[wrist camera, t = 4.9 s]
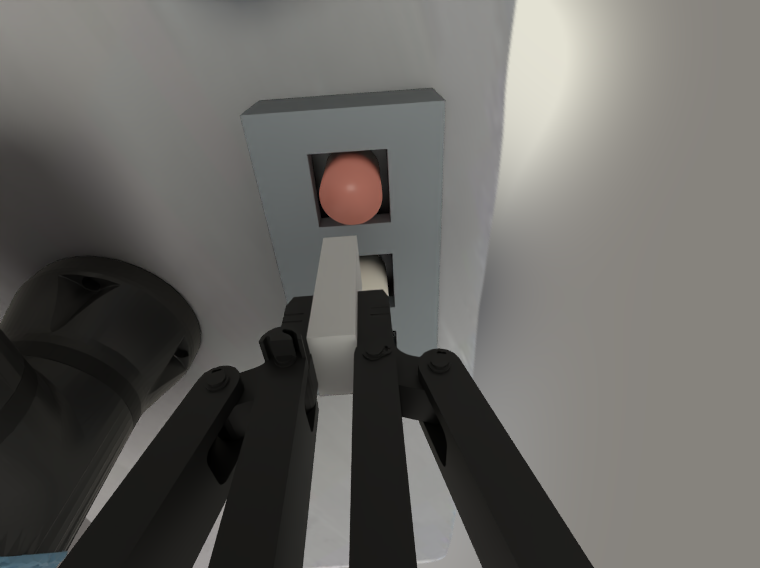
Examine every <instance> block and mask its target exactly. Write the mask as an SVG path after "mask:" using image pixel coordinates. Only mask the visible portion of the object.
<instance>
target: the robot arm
mask: <svg viewBox="0 0 760 568" xmlns="http://www.w3.org/2000/svg"><path fill="white" fill-rule="evenodd" d="M200 340H201V334H200V328H199V324H198V321H197V319H196V316H195V314H194V313H193V311H192V309H191V308H190V306H189V305H188V304H187V302H186V301H185V300H184V299H183V298H182V297H181V296H180V295H179V294H178V293H177V292H176V291H175V290H174V289H173V288H172V287H170V286H169V285H168V284H166V283H165V282H164V281H162V280H161V279H159V278H158V277H156V276H154V275H152V274H151V273H149V272H147V271H145V270H143V269H140V268H138V267H136V266H133V265H130V264H127V263H124V262H121V261H117V260H113V259H108V258H101V257H89V256H86V257H72V258H66V259H62V260H59V261H56V262H54V263H51V264H49V265H48V266H46V267H45V268H43V269H42V270H40V271H39V272H38V273H37V274H35V275H34V276H33V277H32V278H30V279H29V280H28V281H27V282H25V283H24V284H23V285H22V286H21V288H20V289H19V290H18V291H17V293H16V294H15V296H14V298H13V300H12V302H11V304H10V306H9V308H8V310H7V312H6V313H5V315H4V317H3V319H2V321H1V323H0V568H56V567H57V565H58V564H59V562H61V561H63V560H64V561H63V562H62V563H61V565H60V566H59V567H58V568H192V567H193V565H194V563H195V561H196V559H197V557H198V555H199V553H200V551H201V549H202V547H203V545H204V543H205V541H206V539H207V537H208V535H209V533H210V531H211V529H212V527H213V525H214V523H215V521H216V519H217V517H218V515H219V513H220V511H221V509H222V507H223V505H224V503H225V501H226V500H227V501H226V505H225V508H224V512H223V516H222V519H221V523H220V526H219V530H218V534H217V537H216V541H215V545H214V548H213V552H212V556H211V559H210V563H209V566H208V568H303V559H304V549H305V539H306V529H307V520H308V510H309V500H310V490H311V481H312V471H313V461H314V451H315V442H316V432H317V422H318V412H319V408H318V402H317V391H318V390H319V395H320V396H329V395H343V394H353V417H352V462H351V507H350V552H349V568H417V562H416V552H415V542H414V532H413V522H412V513H411V503H410V493H409V483H408V473H407V464H406V454H405V444H404V434H403V424H402V417H405V418H410V419H414V420H419V423H420V425H421V427H422V430H423V432H424V434H425V437H426V439H427V441H428V444H429V446H430V448H431V450H432V453H433V455H434V457H435V460H436V462H437V464H438V467H439V469H440V471H441V473H442V476H443V478H444V480H445V483H446V485H447V487H448V489H449V492H450V494H451V496H452V499H453V501H454V503H455V506H456V508H457V510H458V512H459V515H460V517H461V519H462V521H463V524H464V526H465V529H466V531H467V533H468V535H469V538H470V540H471V542H472V545H473V547H474V549H475V551H476V554H477V556H478V558H479V561H480V563H481V565H482V568H594V567H593V566H592V564H591V563H590V561H589V560H588V558H587V556H586V555H585V553H584V552H583V550H582V549H581V547H580V545H579V544H578V542H577V541H576V539H575V538H574V536H573V535H572V533H571V532H570V530H569V528H568V527H567V525H566V524H565V522H564V521H563V519H562V517H561V516H560V514H559V513H558V511H557V510H556V508H555V507H554V505H553V503H552V502H551V500H550V499H549V497H548V496H547V494H546V493H545V491H544V489H543V488H542V486H541V485H540V483H539V482H538V480H537V479H536V477H535V475H534V474H533V472H532V471H531V469H530V468H529V466H528V464H527V463H526V461H525V460H524V458H523V457H522V455H521V454H520V452H519V451H518V449H517V447H516V446H515V444H514V443H513V441H512V440H511V438H510V436H509V435H508V433H507V432H506V430H505V429H504V427H503V426H502V424H501V422H500V421H499V419H498V418H497V416H496V415H495V413H494V411H493V410H492V408H491V407H490V405H489V404H488V402H487V401H486V399H485V398H484V396H483V394H482V393H481V391H480V390H479V388H478V387H477V385H476V383H475V382H474V380H473V379H472V377H471V376H470V374H469V373H468V371H467V369H466V368H465V366H464V365H463V363H462V362H461V360H460V358H459V357H458V356H457V355H456V354H455V353H453V352H451V351H449V350H445V349H440V348H439V349H431V350H429V351H426V352H424V353H423V354H422V355H421V356H420V357H417V356H412V355H408V354H406V353H404V352H402V351H400V350H399V349H398V348H397V347H396V346H395V344H394V341H393V332H392V323H391V313H390V303H389V296H388V295H387V294H386V293H385V291H384V290H383V289H380V290H367V291H362V280H361V271H360V262H359V252H358V243H357V235H355V236H341V237H328V238H323V243H322V249H321V254H320V260H319V266H318V272H317V278H316V284H315V290H314V295H312V296H299V297H293V298H292V300H291V301H290V302H289V303H288V304H287V305H286V309H285V313H284V317H283V321H282V325H281V327H277V328H274V329H272V330H270V331H268V332H267V333H265V334H264V335H263V336H262V337H261V339H260V341H259V344H260V347H261V350H262V353H263V356H264V359H265V363H264V364H262V365H260V366H258V367H256V368H254V369H251V370H247V371H244V372H241V373H239V371H238V370H237V369H236V368H235V367H231V366H219V367H216V368H213V369H211V370H209V371H208V372H206V373H204V374H203V375H202V376H201V377H200V378H199V379H198V381H197V382H196V383H195V385H194V386H193V387H192V389H191V390H190V391H189V393H188V394H187V395H186V397H185V398H184V399H183V401H182V402H181V403H180V405H179V406H178V407H177V409H176V410H175V411H174V413H173V414H172V415H171V417H170V418H169V420H168V421H167V422H166V424H165V425H164V426H163V428H162V429H161V430H160V432H159V433H158V434H157V436H156V437H155V438H154V440H153V441H152V442H151V444H150V445H149V446H148V448H147V449H146V450H145V452H144V453H143V454H142V456H141V457H140V458H139V460H138V461H137V463H136V464H135V465H134V467H133V468H132V469H131V471H130V472H129V473H128V475H127V476H126V477H125V479H124V480H123V481H122V483H121V484H120V485H119V487H118V488H117V489H116V491H115V492H114V493H113V495H112V496H111V497H110V499H109V500H108V501H107V503H106V504H105V505H104V507H103V508H102V510H101V511H100V512H99V514H98V515H97V516H96V518H95V519H94V520H93V522H92V523H91V524H90V526H89V527H88V528H87V530H86V531H85V532H84V534H83V535H82V536H81V538H80V539H79V540H78V542H77V543H76V544H75V546H74V547H73V548H72V550H71V551H70V553H69V554H68V555H67V553H68V551H67V550H68V548H69V546H70V545H71V543H72V541H73V539H74V537H75V535H76V533H77V532H78V530H79V528H80V526H81V524H82V522H83V521H84V519H85V517H86V515H87V513H88V511H89V510H90V508H91V506H92V504H93V502H94V500H95V499H96V497H97V495H98V493H99V491H100V489H101V488H102V486H103V484H104V482H105V480H106V478H107V476H108V475H109V473H110V471H111V469H112V467H113V465H114V464H115V462H116V460H117V458H118V456H119V454H120V453H121V451H122V449H123V447H124V445H125V443H126V441H127V440H128V438H129V436H130V434H131V432H132V430H133V429H134V427H135V425H136V423H137V422H138V420H139V418H140V416H141V415H142V413H143V412H145V411H146V410H147V409H148V408H149V407H150V406H151V405H152V404H153V403H154V402H156V401H157V400H158V399H159V398H160V397H161V396H162V395H163V394H164V393H165V392H166V391H168V390H169V389H170V388H171V387H172V386H173V385H174V384H175V383H176V382H177V381H179V380H180V379H181V378H182V377H183V376H184V374H185V373H186V372H187V370H188V369H189V367H190V366H191V364H192V362H193V360H194V358H195V356H196V354H197V352H198V349H199V346H200ZM66 555H67V557H66ZM65 557H66V558H65Z"/></svg>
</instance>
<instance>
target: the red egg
mask: <svg viewBox="0 0 760 568" xmlns="http://www.w3.org/2000/svg"><path fill="white" fill-rule="evenodd" d="M319 198H320V203H321V205H322V207H323V209H324V211H325V212H326V213H327V214H328V216H330V217H331V218H332V219H333V220H335V221H337V222H339V223H342V224H346V225H357V224H361V223H364V222H366V221H368V220H370V219H371V218H372V217H373V216H374V215H375V214H376V213H377V212H378V210H379V208H380V206H381V203H382V186H381V177H380V168H379V164H378V161H377V159H376V157H375V155H374V154H373V153H372V152H371V151H370V150H363V151H349V152H335V153H331V154H330V156H329V157H328V159H327V162H326V166H325V170H324V174H323V178H322V182H321V185H320V190H319Z"/></svg>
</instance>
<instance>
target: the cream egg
mask: <svg viewBox="0 0 760 568" xmlns="http://www.w3.org/2000/svg"><path fill="white" fill-rule="evenodd" d="M359 262H360V271H361V280H362V291H367V290H380V289H383V290H384V291H385V293H386V294H387V295H388V296H389V294H388V283H387V272H386V266H385V263H384V261H383V260H382V258H381V257H380V256H379V255H364V256H359Z"/></svg>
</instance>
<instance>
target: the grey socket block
mask: <svg viewBox="0 0 760 568" xmlns="http://www.w3.org/2000/svg"><path fill="white" fill-rule="evenodd" d="M240 118H241V122H242V126H243V130H244V134H245V138H246V142H247V145H248V149H249V153H250V157H251V161H252V165H253V169H254V173H255V177H256V181H257V185H258V189H259V193H260V197H261V201H262V205H263V209H264V213H265V217H266V221H267V225H268V229H269V233H270V237H271V241H272V245H273V249H274V253H275V257H276V261H277V265H278V269H279V273H280V277H281V281H282V285H283V289H284V293H285V297H286V301H287V304H288V303H289V302H290V301H291V300H292V298H293V297H299V296H312V295H314V290H315V284H316V278H317V272H318V266H319V260H320V254H321V249H322V243H323V238H328V237H341V236H355V235H357V243H358V252H359V256H364V255H378V254H392V268H393V288H394V296H389V303H390V313H391V323H392V331H396V338H393V341H394V344H395V346H396V347H397V348H398V349H399V350H400V351H402V352H404V353H406V354H408V355H412V356H417V357H420V356H421V355H422V354H423V353H424V352H426V351H429V350H431V349H437V335H438V305H439V275H440V244H441V214H442V184H443V154H444V124H445V100H444V99H443V98H442V97H441V96H440V95H439V94H438V93H437V92H436V91H435V90H434V89H433V88H425V89H411V90H398V91H384V92H370V93H357V94H343V95H329V96H316V97H302V98H288V99H275V100H261V101H258V102H257V103H255V104H254V105H253V106H252V107H250V108H249V109H248V110H246V111H245V112H244V113H243V114H241V115H240ZM377 149H387V168H388V188H389V208H390V213H387V214H375V215H374V216H373V217H372V218H371V219H370V220H368V221H366V222H364V223H361V224H357V225H346V224H342V223H339V222H337V221H335V220H333V219H332V218H321V214H320V208H319V202H318V196H317V190H316V183H315V177H314V171H313V165H312V159H311V154H321V153H335V152H349V151H363V150H377ZM317 395H319V390H318V391H317Z"/></svg>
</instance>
